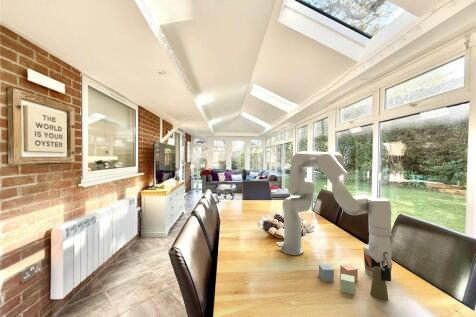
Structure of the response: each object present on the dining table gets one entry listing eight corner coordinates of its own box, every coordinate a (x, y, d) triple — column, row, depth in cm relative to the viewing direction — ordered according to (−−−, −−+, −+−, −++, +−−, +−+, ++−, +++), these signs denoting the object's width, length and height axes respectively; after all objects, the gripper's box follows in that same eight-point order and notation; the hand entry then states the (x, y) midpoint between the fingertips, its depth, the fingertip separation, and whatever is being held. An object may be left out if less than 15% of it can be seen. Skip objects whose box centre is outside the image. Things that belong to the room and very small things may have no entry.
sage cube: (340, 291, 92) (340, 279, 92) (341, 285, 96) (341, 273, 96) (354, 294, 90) (354, 282, 90) (354, 288, 94) (354, 276, 94)
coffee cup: (358, 270, 109) (358, 245, 109) (372, 267, 112) (372, 242, 112) (376, 280, 100) (376, 253, 100) (391, 276, 104) (391, 250, 104)
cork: (366, 291, 91) (366, 264, 91) (380, 291, 92) (381, 264, 92) (377, 301, 85) (377, 272, 85) (392, 300, 86) (392, 271, 86)
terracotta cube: (347, 281, 99) (347, 270, 99) (340, 275, 104) (340, 265, 104) (357, 280, 100) (357, 269, 100) (349, 274, 105) (349, 263, 105)
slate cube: (322, 280, 100) (322, 269, 100) (318, 275, 105) (318, 264, 105) (333, 281, 100) (333, 269, 100) (329, 275, 105) (329, 264, 105)
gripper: (362, 223, 98) (362, 263, 97) (378, 236, 81) (378, 285, 81) (381, 224, 96) (381, 265, 96) (401, 238, 79) (402, 287, 79)
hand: (380, 274), depth 88 cm, fingers open, 9 cm apart
